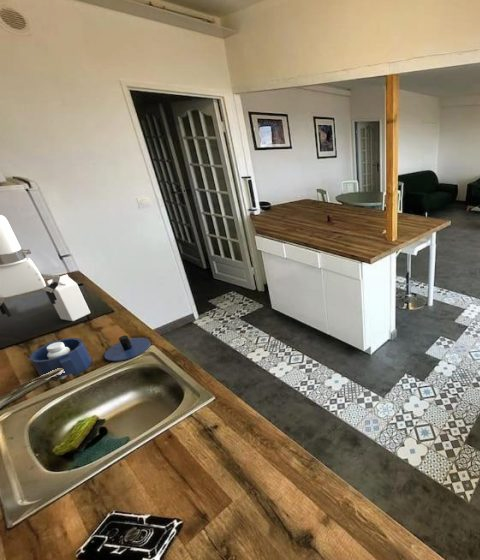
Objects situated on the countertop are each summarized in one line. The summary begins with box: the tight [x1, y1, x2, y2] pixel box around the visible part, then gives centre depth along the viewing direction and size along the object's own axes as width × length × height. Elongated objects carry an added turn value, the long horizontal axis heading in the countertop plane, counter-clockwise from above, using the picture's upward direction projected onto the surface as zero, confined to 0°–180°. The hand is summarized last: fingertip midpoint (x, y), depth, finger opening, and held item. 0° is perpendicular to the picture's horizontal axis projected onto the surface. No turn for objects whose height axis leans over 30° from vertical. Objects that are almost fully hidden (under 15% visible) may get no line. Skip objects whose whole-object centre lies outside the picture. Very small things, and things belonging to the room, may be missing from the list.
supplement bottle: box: [47, 342, 70, 359], centre depth 105 cm, size 5×5×10 cm
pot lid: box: [103, 335, 151, 362], centre depth 115 cm, size 14×14×6 cm
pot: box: [28, 337, 93, 379], centre depth 105 cm, size 13×18×8 cm
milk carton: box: [46, 273, 91, 322], centre depth 133 cm, size 7×7×19 cm
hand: (31, 308), depth 97 cm, fingers open, 9 cm apart
